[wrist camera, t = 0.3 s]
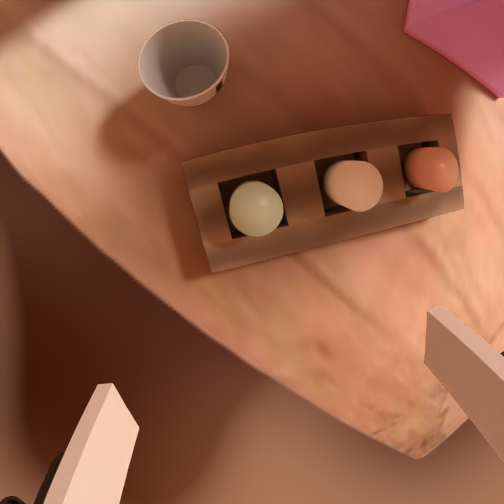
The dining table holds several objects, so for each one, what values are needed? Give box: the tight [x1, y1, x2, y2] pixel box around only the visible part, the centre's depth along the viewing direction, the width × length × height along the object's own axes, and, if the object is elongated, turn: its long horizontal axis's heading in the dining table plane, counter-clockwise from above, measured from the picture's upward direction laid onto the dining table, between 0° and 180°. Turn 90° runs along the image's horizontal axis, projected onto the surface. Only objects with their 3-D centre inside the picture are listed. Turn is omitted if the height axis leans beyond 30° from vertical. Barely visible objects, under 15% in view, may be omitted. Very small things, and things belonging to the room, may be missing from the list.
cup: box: [138, 19, 229, 106], centre depth 28 cm, size 8×8×10 cm
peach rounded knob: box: [322, 160, 383, 212], centre depth 31 cm, size 5×5×5 cm
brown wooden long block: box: [181, 114, 464, 273], centre depth 35 cm, size 12×32×5 cm, turn 104°
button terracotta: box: [402, 147, 459, 193], centre depth 31 cm, size 5×5×5 cm
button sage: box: [229, 180, 283, 237], centre depth 31 cm, size 5×5×5 cm
